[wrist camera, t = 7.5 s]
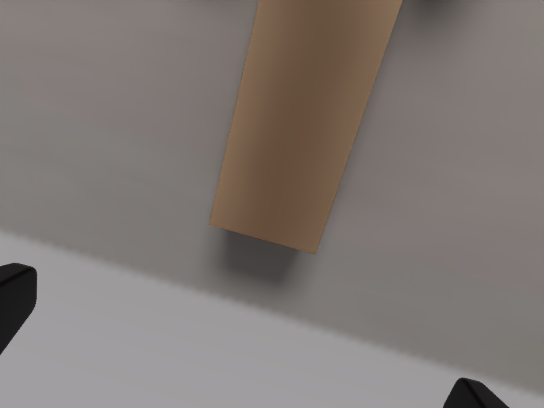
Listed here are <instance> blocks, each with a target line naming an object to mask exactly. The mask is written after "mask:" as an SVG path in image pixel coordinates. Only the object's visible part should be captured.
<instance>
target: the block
mask: <svg viewBox="0 0 544 408" xmlns="http://www.w3.org/2000/svg"><path fill="white" fill-rule="evenodd" d="M402 1H403V0H259V2H258V7H257V11H256V15H255V20H254V24H253V29H252V33H251V38H250V42H249V47H248V51H247V56H246V60H245V65H244V69H243V74H242V78H241V83H240V87H239V92H238V96H237V101H236V105H235V110H234V114H233V119H232V123H231V128H230V132H229V137H228V141H227V146H226V150H225V155H224V159H223V164H222V168H221V173H220V177H219V182H218V186H217V190H216V195H215V199H214V204H213V208H212V213H211V217H210V222H209V225H212V226H215V227H219V228H222V229H226V230H230V231H233V232H237V233H240V234H244V235H248V236H251V237H255V238H258V239H262V240H265V241H269V242H273V243H276V244H280V245H283V246H287V247H291V248H294V249H298V250H301V251H305V252H308V253H312V254H316V251H317V248H318V245H319V242H320V239H321V236H322V233H323V230H324V228H325V225H326V222H327V219H328V216H329V213H330V210H331V207H332V204H333V201H334V198H335V196H336V193H337V190H338V187H339V184H340V181H341V178H342V175H343V172H344V169H345V167H346V164H347V161H348V158H349V155H350V152H351V149H352V146H353V143H354V140H355V137H356V135H357V132H358V129H359V126H360V123H361V120H362V117H363V114H364V111H365V108H366V105H367V103H368V100H369V97H370V94H371V91H372V88H373V85H374V82H375V79H376V76H377V73H378V71H379V68H380V65H381V62H382V59H383V56H384V53H385V50H386V47H387V44H388V41H389V39H390V36H391V33H392V30H393V27H394V24H395V21H396V18H397V15H398V12H399V9H400V7H401V4H402Z"/></svg>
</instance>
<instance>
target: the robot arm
mask: <svg viewBox="0 0 544 408" xmlns="http://www.w3.org/2000/svg"><path fill="white" fill-rule="evenodd" d="M36 299H37V272H36V269H35V268H33V267H31V266H27V265H23V264H19V263H11V264H7V265H3V266H0V355H1V353H2V352H3V350H4V349H5V348H6V347H7V345H8V344H9V342H10V341H11V340H12V338H13V337H14V336H15V334H16V333H17V332H18V330H19V329H20V327H21V326H22V325H23V323H24V322H25V321H26V319H27V318H28V317H29V315H30V314H31V313H32V311H33V309H34V307H35V304H36ZM443 408H509V407H508V406H507V405H505V403H503V402H502V401H501V400H500V399H499V398H498V397H497V396H496V395H495V394H494V393H493V392H492V391H490V390H489V389H488V388H487V387H486V386H485V385H484V384H483V383H481V382H479V381H475V380H471V379H468V378H459V379H458V380H457V382H456V383H455V385H454V387H453V388H452V391H451V392H450V394H449V396H448V398H447V400H446V402H445V403H444V406H443Z"/></svg>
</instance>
